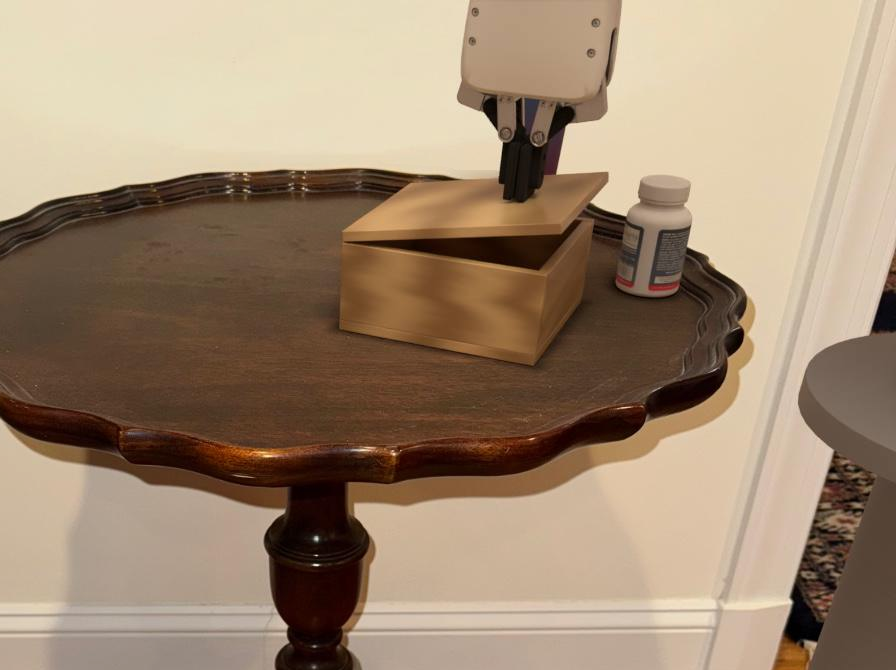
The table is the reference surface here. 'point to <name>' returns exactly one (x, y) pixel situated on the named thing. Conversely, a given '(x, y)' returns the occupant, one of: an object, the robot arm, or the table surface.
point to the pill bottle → (655, 238)
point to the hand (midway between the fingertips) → (518, 196)
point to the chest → (467, 290)
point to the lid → (477, 209)
